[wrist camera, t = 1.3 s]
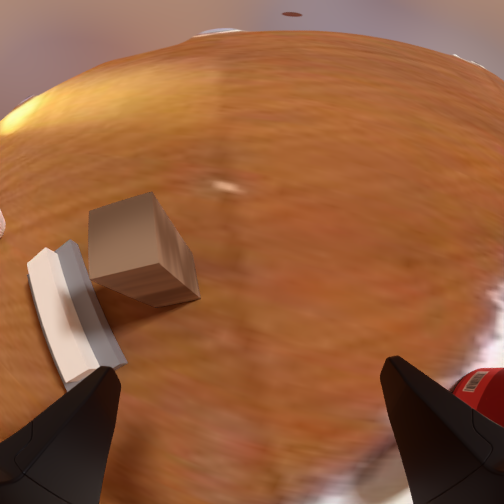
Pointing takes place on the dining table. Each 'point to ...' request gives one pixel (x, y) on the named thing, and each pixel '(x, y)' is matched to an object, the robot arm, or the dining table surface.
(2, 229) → the muffin
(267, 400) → the dining table surface
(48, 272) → the ridge block
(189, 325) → the dining table surface
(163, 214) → the tall brown block
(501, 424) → the canned food
